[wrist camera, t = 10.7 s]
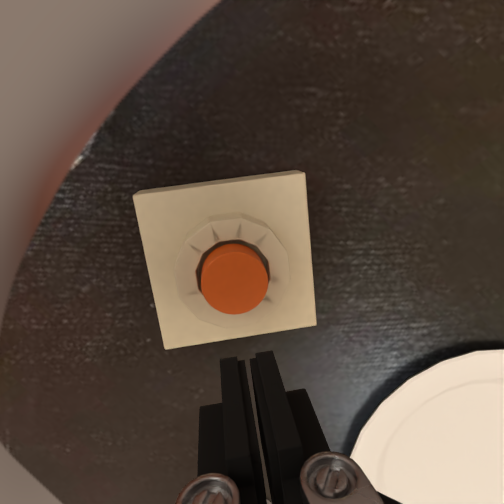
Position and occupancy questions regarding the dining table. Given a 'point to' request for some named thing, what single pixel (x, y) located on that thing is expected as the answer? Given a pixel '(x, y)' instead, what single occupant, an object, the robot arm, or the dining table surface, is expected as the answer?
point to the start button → (234, 279)
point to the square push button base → (221, 233)
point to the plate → (440, 434)
